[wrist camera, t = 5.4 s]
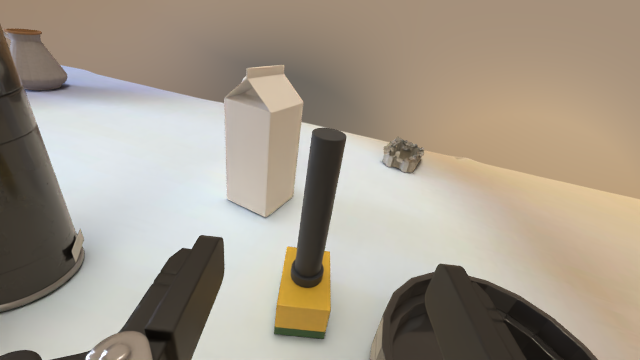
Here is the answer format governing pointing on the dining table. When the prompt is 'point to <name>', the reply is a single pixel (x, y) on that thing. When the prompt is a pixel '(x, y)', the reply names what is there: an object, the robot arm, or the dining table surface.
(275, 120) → the milk carton
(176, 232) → the dining table surface
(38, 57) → the coffee pot
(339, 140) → the sponge wand
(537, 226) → the dining table surface
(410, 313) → the bowl
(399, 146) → the egg carton
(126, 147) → the dining table surface
